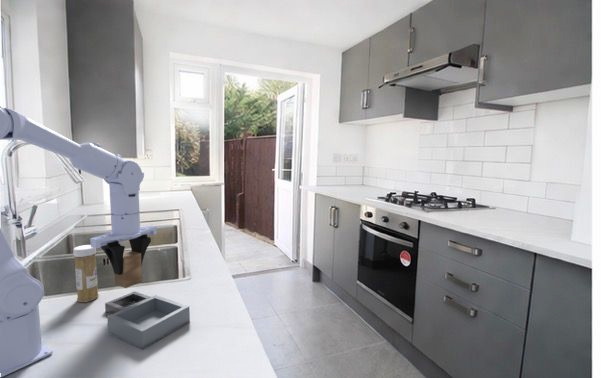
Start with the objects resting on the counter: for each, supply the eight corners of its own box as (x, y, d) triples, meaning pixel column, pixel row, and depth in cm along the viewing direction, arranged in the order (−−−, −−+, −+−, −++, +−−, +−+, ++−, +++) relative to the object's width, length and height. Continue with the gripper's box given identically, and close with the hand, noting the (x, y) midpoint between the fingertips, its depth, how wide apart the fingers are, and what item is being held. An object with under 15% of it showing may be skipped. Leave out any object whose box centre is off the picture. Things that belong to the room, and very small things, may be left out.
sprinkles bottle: (98, 300, 76) (95, 247, 75) (76, 304, 74) (72, 250, 72) (98, 293, 80) (95, 243, 79) (77, 297, 77) (73, 245, 76)
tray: (143, 349, 57) (142, 331, 56) (108, 333, 62) (107, 316, 61) (189, 322, 66) (189, 306, 66) (156, 309, 71) (155, 295, 71)
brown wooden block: (125, 288, 69) (124, 257, 68) (115, 284, 71) (113, 255, 70) (142, 281, 72) (140, 253, 72) (131, 278, 74) (130, 250, 73)
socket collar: (124, 319, 67) (124, 310, 67) (105, 311, 71) (105, 303, 70) (153, 305, 74) (153, 297, 73) (134, 298, 77) (134, 291, 77)
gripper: (102, 220, 62) (106, 285, 63) (164, 210, 74) (166, 264, 76) (83, 216, 65) (87, 278, 66) (145, 207, 78) (147, 259, 79)
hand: (128, 270), depth 71 cm, fingers closed on brown wooden block, 4 cm apart
